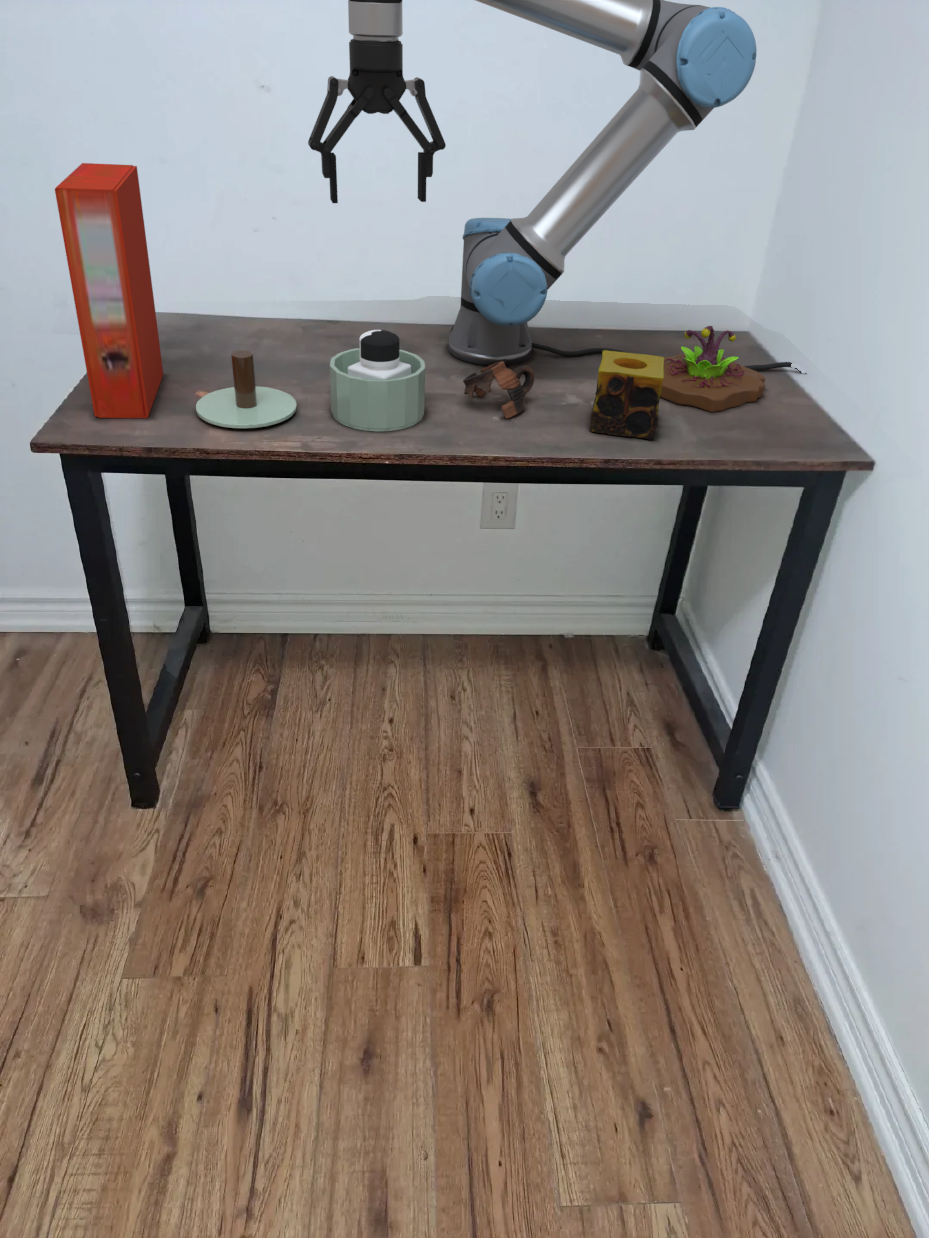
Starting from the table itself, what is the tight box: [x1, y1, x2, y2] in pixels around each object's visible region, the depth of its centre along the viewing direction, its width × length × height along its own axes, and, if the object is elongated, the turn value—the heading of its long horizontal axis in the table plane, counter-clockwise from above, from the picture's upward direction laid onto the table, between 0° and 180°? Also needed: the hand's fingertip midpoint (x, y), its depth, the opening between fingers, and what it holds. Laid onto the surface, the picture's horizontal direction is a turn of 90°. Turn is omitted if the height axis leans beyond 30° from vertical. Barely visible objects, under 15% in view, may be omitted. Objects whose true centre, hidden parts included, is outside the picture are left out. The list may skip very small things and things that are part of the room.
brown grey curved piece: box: [462, 361, 535, 420], centre depth 151 cm, size 12×10×8 cm
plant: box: [660, 325, 766, 413], centre depth 160 cm, size 20×20×11 cm
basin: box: [329, 347, 426, 433], centre depth 145 cm, size 14×14×8 cm
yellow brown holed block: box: [589, 350, 665, 441], centre depth 146 cm, size 10×10×10 cm
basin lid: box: [195, 349, 298, 429], centre depth 143 cm, size 15×15×9 cm
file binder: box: [54, 162, 164, 419], centre depth 139 cm, size 8×17×32 cm, turn 7°
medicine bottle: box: [348, 329, 411, 379], centre depth 144 cm, size 7×7×12 cm
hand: (378, 201), depth 144 cm, fingers open, 13 cm apart
